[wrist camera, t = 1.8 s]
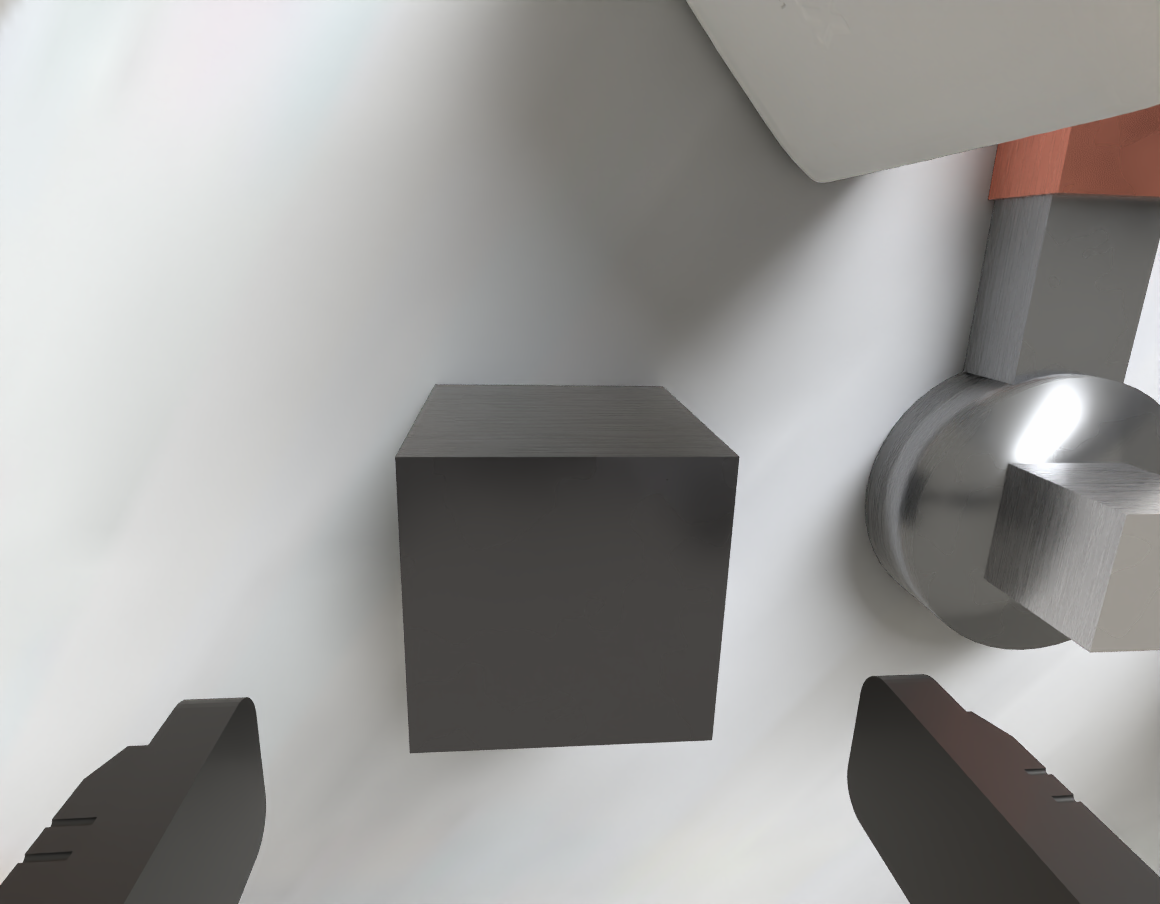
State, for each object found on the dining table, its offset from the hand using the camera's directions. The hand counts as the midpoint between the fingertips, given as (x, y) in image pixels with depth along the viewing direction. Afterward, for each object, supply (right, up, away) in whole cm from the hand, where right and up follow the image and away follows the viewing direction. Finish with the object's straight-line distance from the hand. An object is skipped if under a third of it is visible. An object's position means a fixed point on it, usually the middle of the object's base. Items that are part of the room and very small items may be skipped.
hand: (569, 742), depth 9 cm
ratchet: (+12, +8, +10) cm, 18 cm away
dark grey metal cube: (-1, +3, +10) cm, 10 cm away
